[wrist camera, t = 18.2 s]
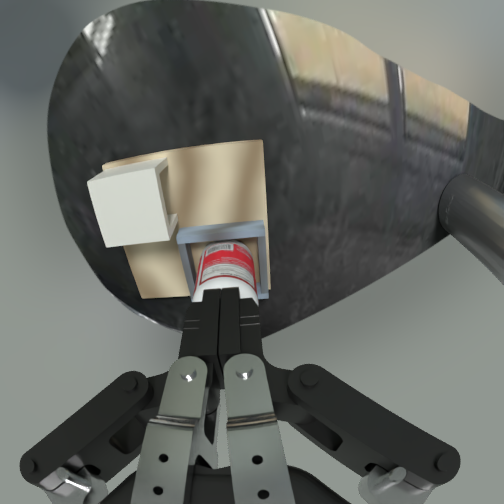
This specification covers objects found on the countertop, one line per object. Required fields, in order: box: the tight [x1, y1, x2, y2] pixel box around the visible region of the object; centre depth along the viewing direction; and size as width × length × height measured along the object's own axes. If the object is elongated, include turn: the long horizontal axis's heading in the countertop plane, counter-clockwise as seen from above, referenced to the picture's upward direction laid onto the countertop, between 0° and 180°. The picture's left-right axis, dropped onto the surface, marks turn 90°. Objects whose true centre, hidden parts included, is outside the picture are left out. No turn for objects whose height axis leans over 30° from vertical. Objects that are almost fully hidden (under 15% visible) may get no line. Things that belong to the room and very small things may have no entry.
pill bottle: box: [192, 239, 258, 305], centre depth 27 cm, size 6×6×11 cm
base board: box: [102, 140, 271, 301], centre depth 29 cm, size 17×18×4 cm
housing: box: [87, 157, 178, 247], centre depth 25 cm, size 7×7×4 cm
